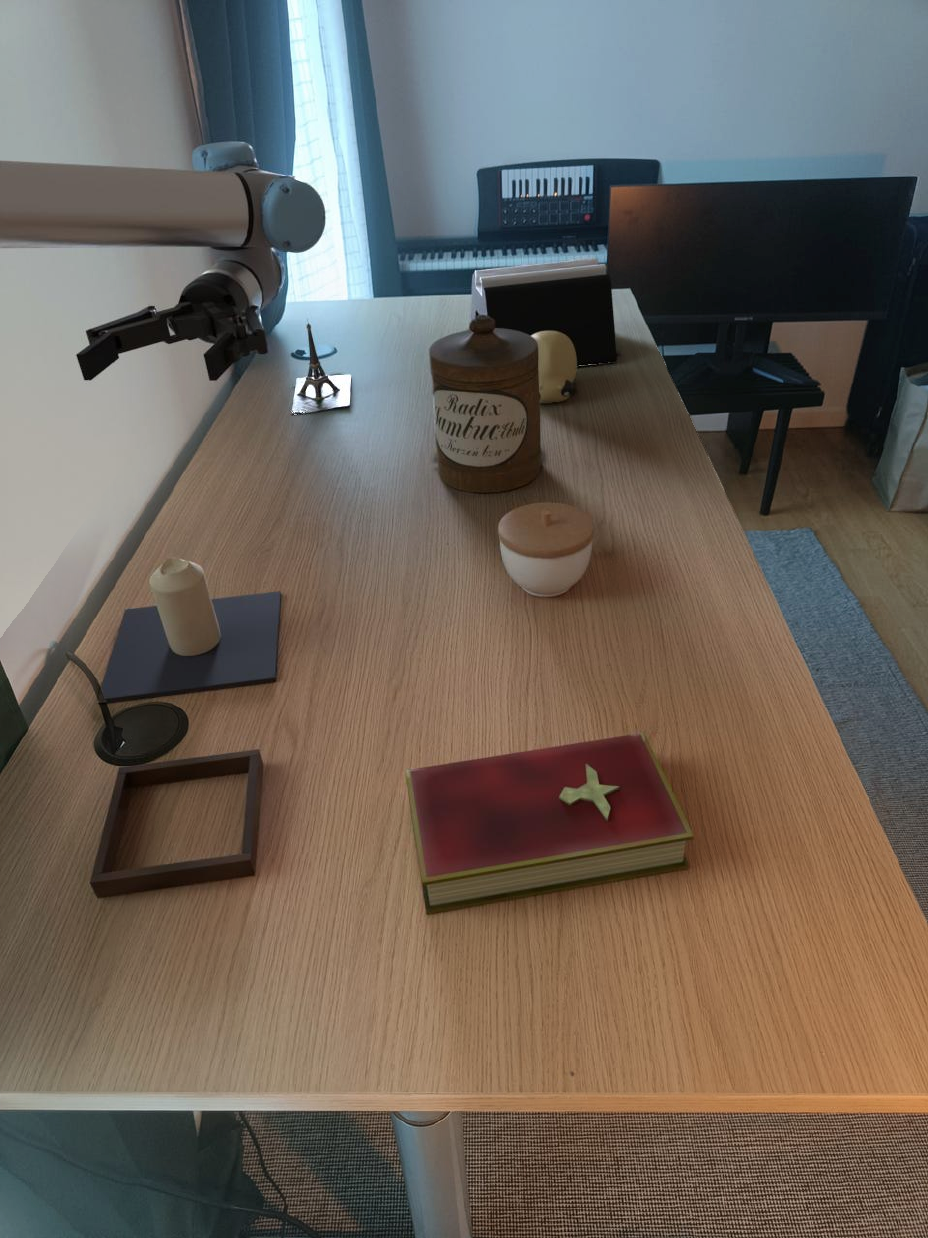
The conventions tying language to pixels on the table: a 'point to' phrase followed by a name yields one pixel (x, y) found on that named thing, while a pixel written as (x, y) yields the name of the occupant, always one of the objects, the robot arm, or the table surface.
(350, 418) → the table surface
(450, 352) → the wooden container
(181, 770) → the square wooden frame
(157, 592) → the candle
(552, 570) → the trinket box
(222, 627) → the felt mat
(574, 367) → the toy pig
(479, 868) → the hardcover book
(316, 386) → the eiffel tower figurine
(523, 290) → the device stand
